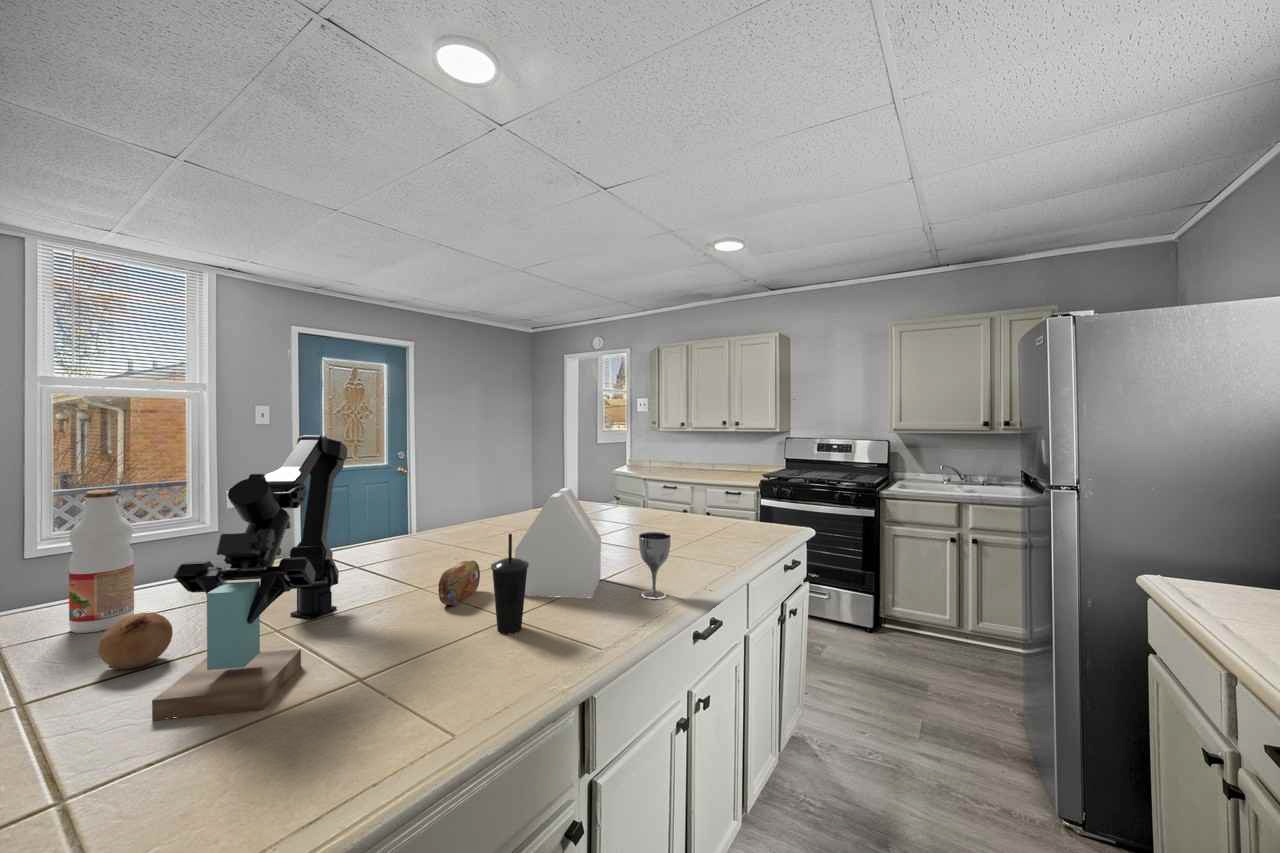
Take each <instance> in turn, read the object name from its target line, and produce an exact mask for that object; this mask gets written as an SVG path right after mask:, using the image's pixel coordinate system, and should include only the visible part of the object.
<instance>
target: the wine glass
mask: <svg viewBox="0 0 1280 853" xmlns="http://www.w3.org/2000/svg"><path fill="white" fill-rule="evenodd" d="M671 538H672V537H671V535H670V534H669V533H665V532H658V531H655V532H654V531H649V532H642V533H640V534H639V535H638V547H639V553H640V554H639V555H640V557H641V559H642V561H643V562H644V563H645V565H647V567H648V569H649V570H650V573H651V578H652V579H651V580H652V589H649V590H650V591H648V590H644V591H645V592H644V593H643V594H644V596H646V597H655V598H658V597H662V596H664V593H663V592H664V591H663V592H661V591H662V590H659V591H657V590H658V589H657V588H656V587H657V586H656V584H657V577H658V576H657V575H658V572H659V569H660V568H661V567H662V566H663V564H665V562H666V561H668V558H669V555H670V549H671V544H672V543H671V542H672V541H671Z"/></svg>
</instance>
